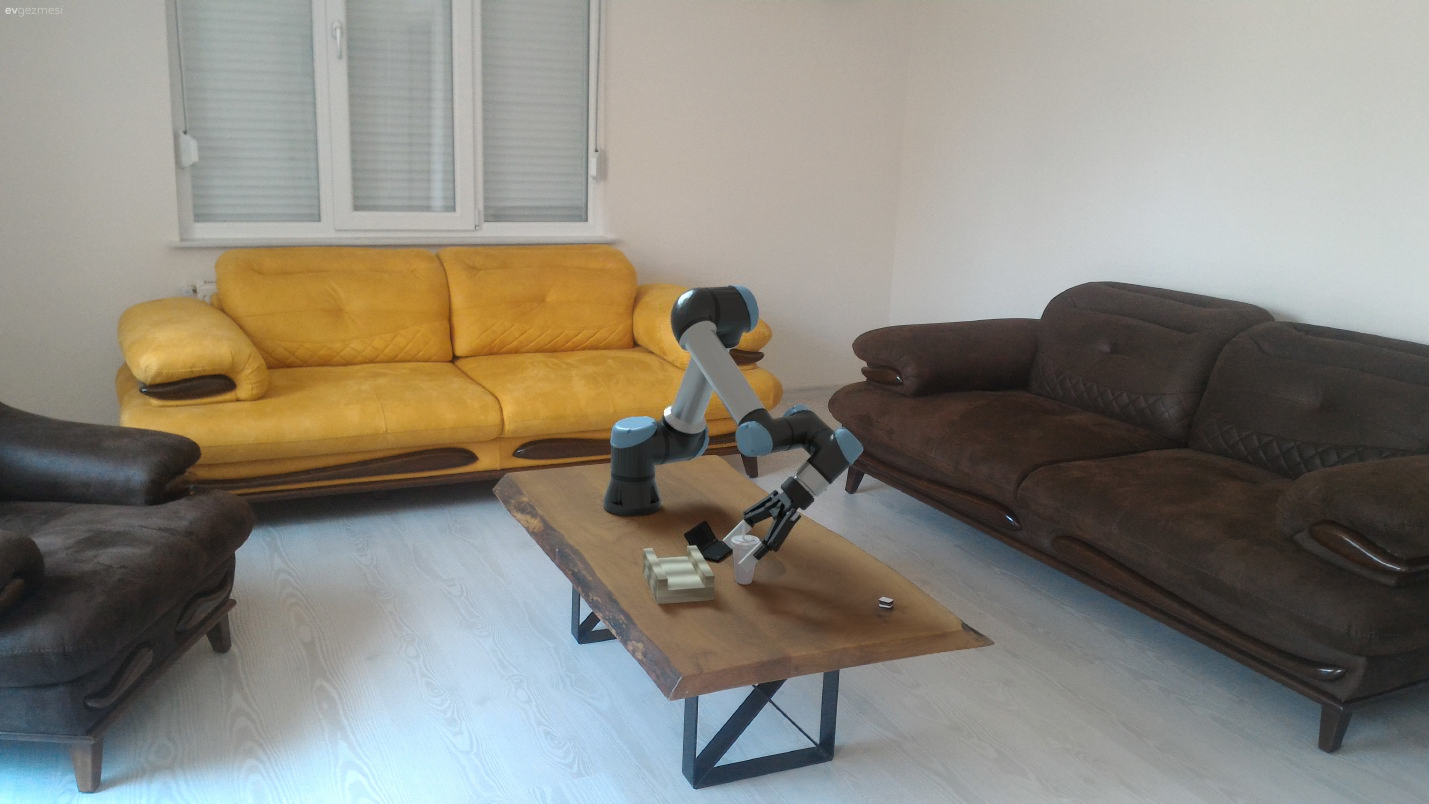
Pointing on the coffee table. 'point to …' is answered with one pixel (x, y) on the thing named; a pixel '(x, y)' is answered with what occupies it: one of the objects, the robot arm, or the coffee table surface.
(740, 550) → the smoothie
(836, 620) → the coffee table surface
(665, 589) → the tray
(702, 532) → the handheld gaming console
